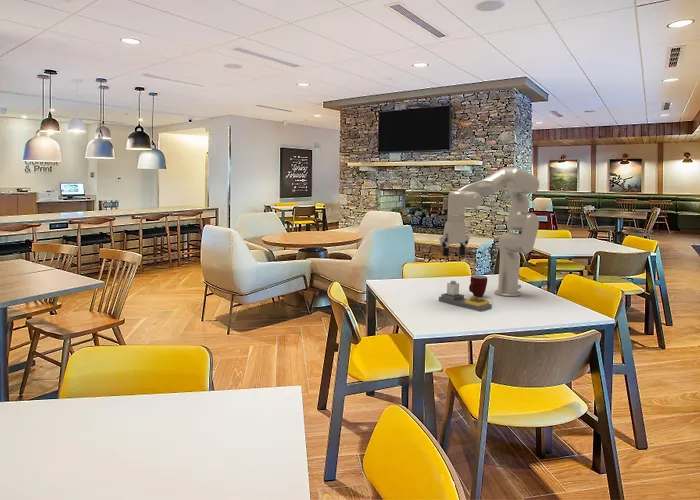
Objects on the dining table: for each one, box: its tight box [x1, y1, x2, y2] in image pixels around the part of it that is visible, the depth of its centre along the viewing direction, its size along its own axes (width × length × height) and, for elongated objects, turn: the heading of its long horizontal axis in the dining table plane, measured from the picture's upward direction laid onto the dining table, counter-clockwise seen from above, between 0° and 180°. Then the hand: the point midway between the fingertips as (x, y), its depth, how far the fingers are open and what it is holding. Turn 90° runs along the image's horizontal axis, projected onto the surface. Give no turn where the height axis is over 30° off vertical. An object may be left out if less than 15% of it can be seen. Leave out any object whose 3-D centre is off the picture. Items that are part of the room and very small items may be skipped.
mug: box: [468, 275, 488, 298], centre depth 246 cm, size 10×8×10 cm
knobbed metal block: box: [446, 280, 460, 297], centre depth 235 cm, size 4×4×8 cm
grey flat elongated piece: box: [438, 292, 493, 312], centre depth 230 cm, size 8×24×4 cm, turn 40°
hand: (453, 255), depth 229 cm, fingers open, 9 cm apart
